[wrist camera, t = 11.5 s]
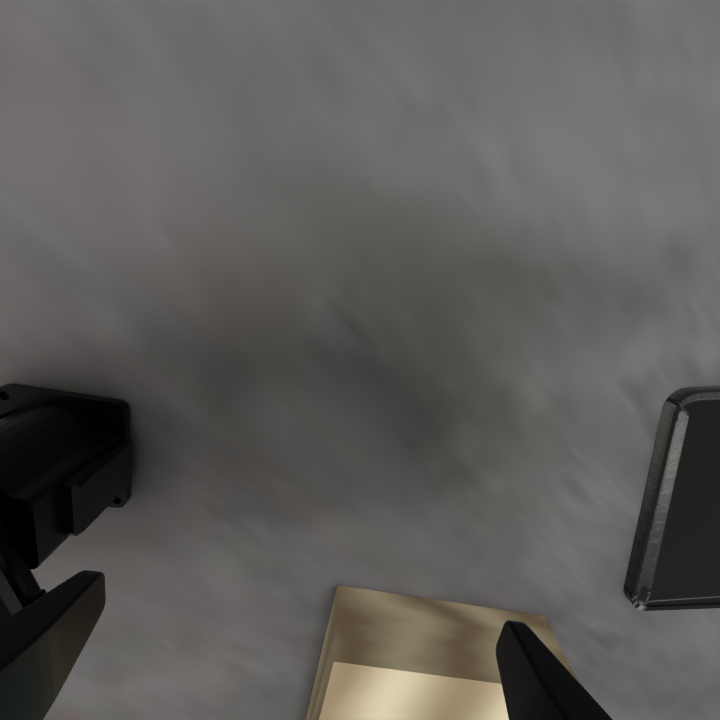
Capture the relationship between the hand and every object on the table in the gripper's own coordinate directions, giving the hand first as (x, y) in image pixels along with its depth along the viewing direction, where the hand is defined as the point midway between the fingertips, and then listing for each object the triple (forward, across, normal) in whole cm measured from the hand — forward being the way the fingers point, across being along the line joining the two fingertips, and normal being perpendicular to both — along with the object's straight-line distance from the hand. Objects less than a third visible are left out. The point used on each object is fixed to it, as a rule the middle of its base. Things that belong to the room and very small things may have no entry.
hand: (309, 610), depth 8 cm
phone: (+13, -23, +3) cm, 26 cm away
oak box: (+12, -9, +20) cm, 25 cm away
